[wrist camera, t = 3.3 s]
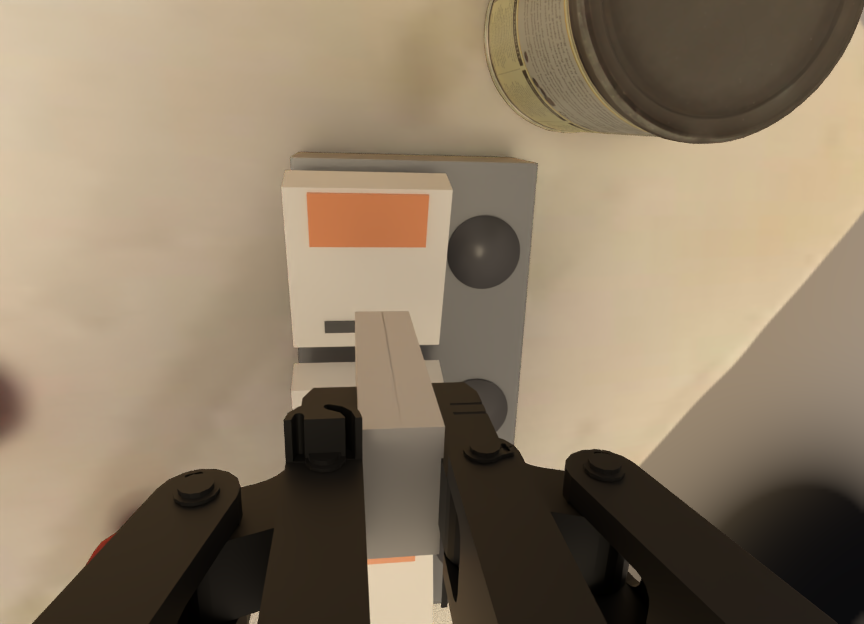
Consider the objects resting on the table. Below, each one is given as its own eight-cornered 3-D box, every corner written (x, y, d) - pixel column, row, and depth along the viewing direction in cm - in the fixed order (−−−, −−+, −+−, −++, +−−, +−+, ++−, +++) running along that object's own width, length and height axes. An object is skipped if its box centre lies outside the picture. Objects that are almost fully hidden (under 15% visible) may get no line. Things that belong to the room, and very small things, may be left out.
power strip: (315, 602, 42) (310, 678, 36) (298, 151, 32) (288, 158, 26) (480, 589, 43) (500, 659, 38) (511, 157, 34) (544, 164, 28)
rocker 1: (296, 323, 29) (293, 349, 28) (285, 170, 25) (280, 188, 23) (433, 321, 30) (439, 346, 29) (446, 173, 26) (453, 191, 24)
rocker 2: (303, 478, 32) (300, 510, 30) (294, 363, 28) (290, 393, 26) (428, 471, 33) (433, 502, 31) (438, 359, 29) (445, 388, 27)
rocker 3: (306, 643, 33) (303, 668, 31) (304, 505, 33) (300, 521, 31) (428, 632, 34) (433, 655, 32) (427, 498, 34) (433, 513, 32)
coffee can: (516, -104, 30) (653, -283, 16) (690, -31, 32) (934, -138, 19) (457, 102, 32) (532, 91, 19) (620, 156, 35) (790, 179, 21)
